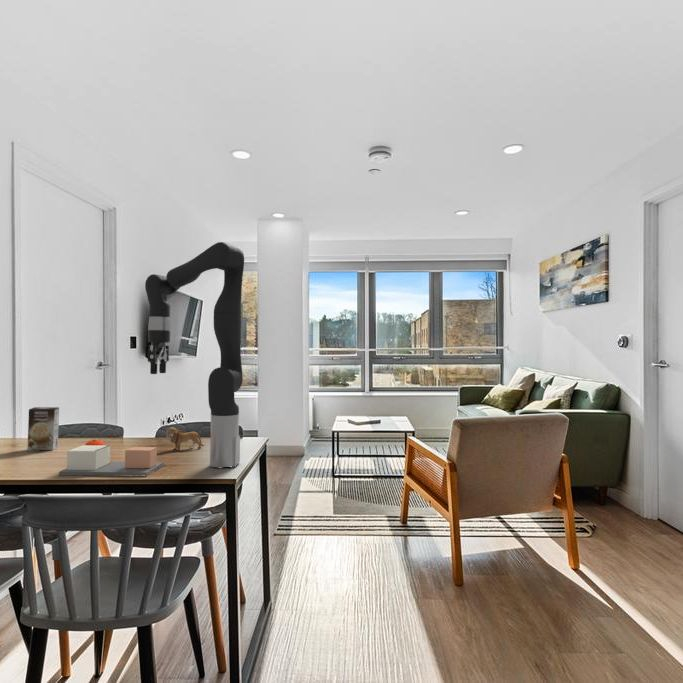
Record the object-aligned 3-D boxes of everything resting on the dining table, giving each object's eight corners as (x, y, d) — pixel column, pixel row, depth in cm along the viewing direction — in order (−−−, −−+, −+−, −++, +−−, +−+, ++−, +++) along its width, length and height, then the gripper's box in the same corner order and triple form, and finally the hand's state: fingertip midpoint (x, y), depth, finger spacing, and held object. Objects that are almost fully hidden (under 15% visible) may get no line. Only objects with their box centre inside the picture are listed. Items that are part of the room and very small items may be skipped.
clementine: (91, 456, 173) (91, 436, 174) (110, 456, 173) (110, 436, 174) (78, 461, 165) (79, 440, 166) (98, 461, 165) (99, 441, 166)
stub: (156, 464, 156) (156, 447, 156) (150, 468, 151) (150, 450, 151) (131, 464, 156) (132, 447, 156) (124, 468, 151) (125, 450, 151)
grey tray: (163, 465, 160) (164, 444, 160) (146, 476, 146) (147, 453, 146) (83, 464, 160) (84, 443, 161) (58, 475, 146) (59, 452, 147)
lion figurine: (167, 452, 181) (168, 428, 182) (164, 450, 186) (164, 426, 186) (206, 448, 189) (206, 425, 190) (201, 446, 194) (202, 424, 194)
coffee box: (26, 451, 180) (27, 409, 181) (32, 448, 187) (33, 407, 187) (53, 450, 183) (54, 408, 183) (58, 447, 189) (59, 406, 189)
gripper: (162, 328, 169) (161, 374, 168) (176, 330, 183) (175, 372, 183) (141, 328, 169) (139, 374, 168) (156, 330, 183) (155, 372, 183)
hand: (158, 373), depth 176 cm, fingers open, 8 cm apart
